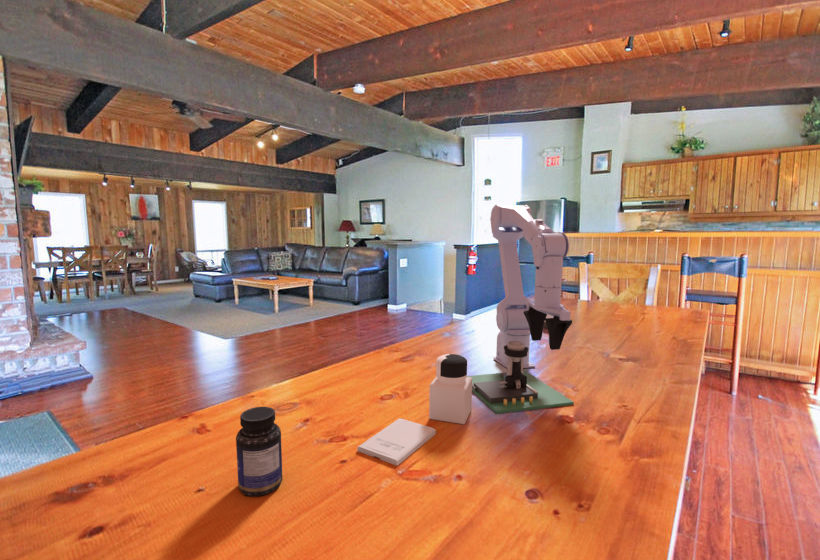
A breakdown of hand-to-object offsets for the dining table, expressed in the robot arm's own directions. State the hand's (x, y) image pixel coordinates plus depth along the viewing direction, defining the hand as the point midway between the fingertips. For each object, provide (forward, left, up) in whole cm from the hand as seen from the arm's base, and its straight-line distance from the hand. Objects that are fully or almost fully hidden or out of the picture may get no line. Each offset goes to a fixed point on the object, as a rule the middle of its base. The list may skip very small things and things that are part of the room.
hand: (545, 344), depth 99 cm
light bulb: (-52, +35, -11) cm, 64 cm away
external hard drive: (+16, -39, -11) cm, 43 cm away
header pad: (+2, -11, -10) cm, 15 cm away
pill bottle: (+23, -61, -11) cm, 66 cm away
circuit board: (0, -8, -10) cm, 13 cm away
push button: (+2, -9, -9) cm, 13 cm away
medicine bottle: (+8, -26, -11) cm, 29 cm away
